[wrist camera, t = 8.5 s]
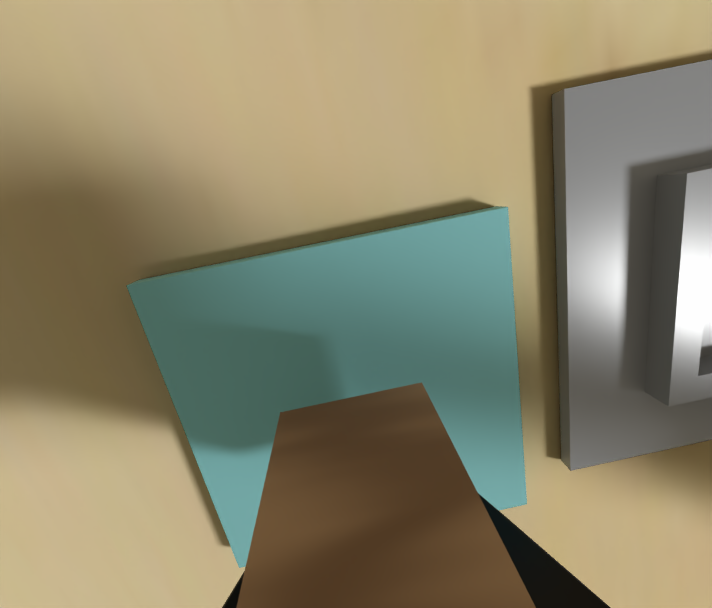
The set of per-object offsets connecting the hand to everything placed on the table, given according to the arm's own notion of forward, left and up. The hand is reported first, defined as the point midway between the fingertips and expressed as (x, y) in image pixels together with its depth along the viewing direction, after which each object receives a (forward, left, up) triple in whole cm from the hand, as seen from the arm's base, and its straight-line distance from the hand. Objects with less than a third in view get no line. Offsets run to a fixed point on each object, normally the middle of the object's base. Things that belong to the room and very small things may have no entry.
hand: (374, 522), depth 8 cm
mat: (0, 0, -5) cm, 5 cm away
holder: (-15, -2, -5) cm, 16 cm away
